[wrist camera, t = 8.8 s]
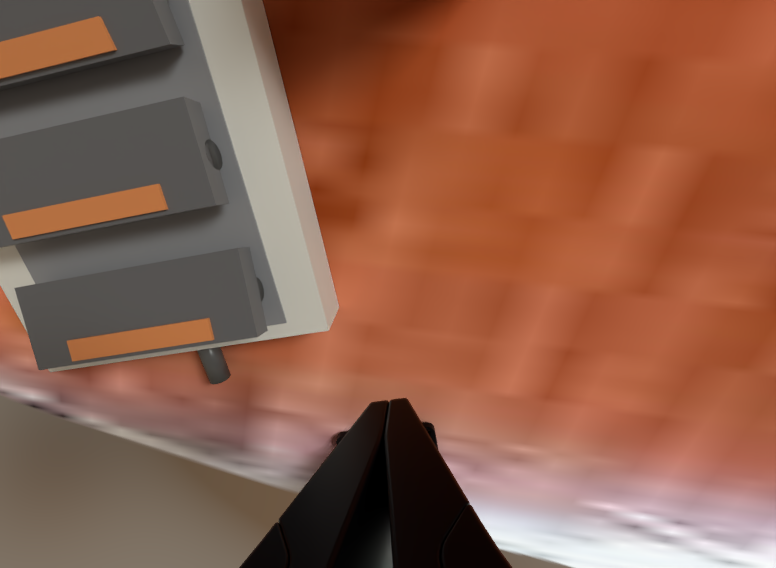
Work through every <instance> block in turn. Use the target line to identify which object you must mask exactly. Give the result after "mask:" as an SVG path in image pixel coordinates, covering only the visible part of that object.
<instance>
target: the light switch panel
mask: <svg viewBox="0 0 776 568" xmlns="http://www.w3.org/2000/svg"><path fill="white" fill-rule="evenodd" d="M167 2H168V4H169V7H170V9H171V12H172V14H173V17H174V19H175V21H176V24H177V26H178V29H179V31H180V34H181V36H182V39H183V41H184V44H185V46H180V47H176V48H172V49H168V50H164V51H160V52H156V53H152V54H148V55H144V56H140V57H136V58H132V59H128V60H124V61H120V62H115V63H111V64H107V65H103V66H99V67H95V68H91V69H87V70H83V71H79V72H75V73H71V74H67V75H63V76H59V77H55V78H51V79H46V80H42V81H38V82H34V83H30V84H26V85H22V86H18V87H14V88H10V89H6V90H2V91H0V139H1V138H5V137H10V136H14V135H18V134H23V133H27V132H31V131H36V130H40V129H44V128H49V127H53V126H57V125H62V124H66V123H70V122H75V121H79V120H83V119H88V118H92V117H96V116H101V115H105V114H110V113H114V112H118V111H123V110H127V109H131V108H136V107H140V106H144V105H149V104H153V103H157V102H162V101H166V100H170V99H175V98H179V97H183V96H184V97H186V98H189V99H192V100H194V101H197V102H200V104H201V107H202V111H203V114H204V118H205V121H206V125H207V128H208V132H209V135H210V138H211V140H212V141H213V142H214V143H215V144H216V145H217V147H218V149H219V151H220V153H221V156H222V162H223V164H222V168H221V169H220V173H221V176H222V180H223V183H224V187H225V190H226V193H227V197H228V200H229V204H225V205H220V206H215V207H210V208H204V209H199V210H194V211H189V212H184V213H179V214H173V215H168V216H163V217H158V218H153V219H148V220H142V221H137V222H132V223H127V224H122V225H117V226H111V227H106V228H101V229H96V230H91V231H86V232H81V233H75V234H70V235H65V236H60V237H55V238H50V239H44V240H39V241H34V242H29V243H24V244H19V245H13V246H8V247H3V248H0V286H1V287H2V289H3V291H4V293H5V294H6V296H7V298H8V300H9V301H10V303H11V305H12V307H13V308H14V310H15V312H16V314H17V315H18V317H19V319H20V321H21V322H22V324H23V326H24V328H25V329H26V325H25V322H24V319H23V315H22V312H21V309H20V305H19V302H18V299H17V295H16V292H15V289H14V288H17V287H22V286H28V285H34V284H39V283H45V282H50V281H56V280H61V279H67V278H73V277H78V276H84V275H89V274H95V273H100V272H106V271H111V270H117V269H123V268H128V267H134V266H139V265H145V264H150V263H156V262H162V261H167V260H173V259H178V258H184V257H189V256H195V255H201V254H206V253H212V252H217V251H223V250H228V249H234V248H242V247H250V251H251V256H252V261H253V265H254V270H255V274H256V277H258V278H259V279H260V281H261V282H262V285H263V289H264V298H263V300H262V306H263V311H264V316H265V320H266V325H267V329H268V331H266V332H265V333H263V334H262V335H260V336H259V337H255V338H249V339H242V340H236V341H229V342H222V343H216V344H209V345H202V346H196V347H189V348H183V349H176V350H169V351H163V352H156V353H150V354H143V355H136V356H130V357H123V358H116V359H110V360H103V361H97V362H90V363H83V364H77V365H70V366H63V367H57V368H50V369H48V370H49V371H50V372H55V371H62V370H69V369H75V368H82V367H89V366H95V365H102V364H109V363H115V362H122V361H129V360H135V359H142V358H149V357H155V356H162V355H169V354H175V353H182V352H189V351H195V350H197V352H198V354H199V357H200V359H201V362H202V364H203V367H204V369H205V371H206V374H207V376H208V379H209V381H210V383H211V384H218V383H221V382H223V381H225V380H227V379H228V378H229V377H230V376H231V374H230V371H229V369H228V366H227V363H226V361H225V358H224V355H223V353H222V350H221V348H220V347H222V346H229V345H235V344H242V343H249V342H255V341H262V340H269V339H275V338H282V337H289V336H295V335H302V334H309V333H315V332H322V331H329V329H330V327H331V325H332V322H333V320H334V318H335V316H336V313H337V311H338V309H339V304H338V300H337V296H336V292H335V288H334V284H333V280H332V276H331V272H330V268H329V264H328V260H327V256H326V252H325V248H324V244H323V240H322V236H321V232H320V228H319V224H318V220H317V216H316V212H315V208H314V204H313V200H312V196H311V192H310V188H309V184H308V180H307V176H306V172H305V168H304V164H303V160H302V156H301V152H300V148H299V144H298V140H297V136H296V132H295V128H294V124H293V120H292V116H291V112H290V108H289V104H288V100H287V96H286V92H285V88H284V84H283V80H282V76H281V72H280V68H279V64H278V60H277V56H276V52H275V48H274V44H273V40H272V36H271V32H270V28H269V24H268V20H267V16H266V12H265V8H264V4H263V0H167ZM26 331H27V329H26ZM27 333H28V332H27Z"/></svg>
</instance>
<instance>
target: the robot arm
mask: <svg viewBox="0 0 776 568" xmlns="http://www.w3.org/2000/svg"><path fill="white" fill-rule="evenodd" d="M426 430H429V431H428V432H427V431H426ZM336 443H337V446H336V447H335V449H334V450H333V451H332V452H331V454H330V455H329V456H328V457H327V459H326V460H325V461H324V463H323V464H322V465H321V466H320V468H319V469H318V470H317V471H316V473H315V474H314V475H313V476H312V478H311V479H310V480H309V482H308V483H307V484H306V485H305V487H304V488H303V489H302V490H301V492H300V493H299V494H298V495H297V497H296V498H295V499H294V501H293V502H292V503H291V504H290V506H289V507H288V508H287V509H286V511H285V512H284V513H283V515H282V516H281V517H280V518H279V523H275V524H274V526H273V527H272V528H271V529H270V531H269V532H268V533H267V534H266V536H265V537H264V538H263V539H262V541H261V542H260V543H259V544H258V546H257V547H256V548H255V549H254V550H253V552H252V553H251V554H250V555H249V557H248V558H247V559H246V560H245V561H244V563H243V564H242V565H241V566H240V567H239V568H512V566H511V565H510V564H509V562H508V561H507V560H506V558H505V557H504V555H503V554H502V553H501V551H500V550H499V549H498V547H497V546H496V544H495V542H494V541H493V539H492V538H491V536H490V535H489V533H488V532H487V530H486V529H485V527H484V525H483V524H482V522H481V521H480V519H479V517H478V516H477V514H476V512H475V511H474V509H473V507H472V506H471V505H470V504H469V501H468V499H467V498H466V496H465V494H464V493H463V491H462V489H461V488H460V486H459V484H458V483H457V481H456V479H455V478H454V476H453V474H452V473H451V471H450V469H449V468H448V466H447V464H446V463H445V461H444V459H443V458H442V456H441V454H440V452H439V451H438V445H437V440H436V434H435V428H434V426H433V425H432V424H431V423H428V422H425V423H422V422H421V421H420V419H419V417H418V416H417V414H416V412H415V411H414V409H413V407H412V406H411V404H410V402H409V401H408V399H407V398H401V399H393V400H391V401H390V402H388V401H387V400H385V401H377V402H372V403H370V404H369V406H368V407H367V408H366V409H365V411H364V412H363V413H362V414H361V416H360V417H359V418H358V419H357V421H356V422H355V423H354V425H353V426H352V427H351V428H350V430H349V431H348V432H342V433H340V434H339V435H338V437H337V441H336Z"/></svg>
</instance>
